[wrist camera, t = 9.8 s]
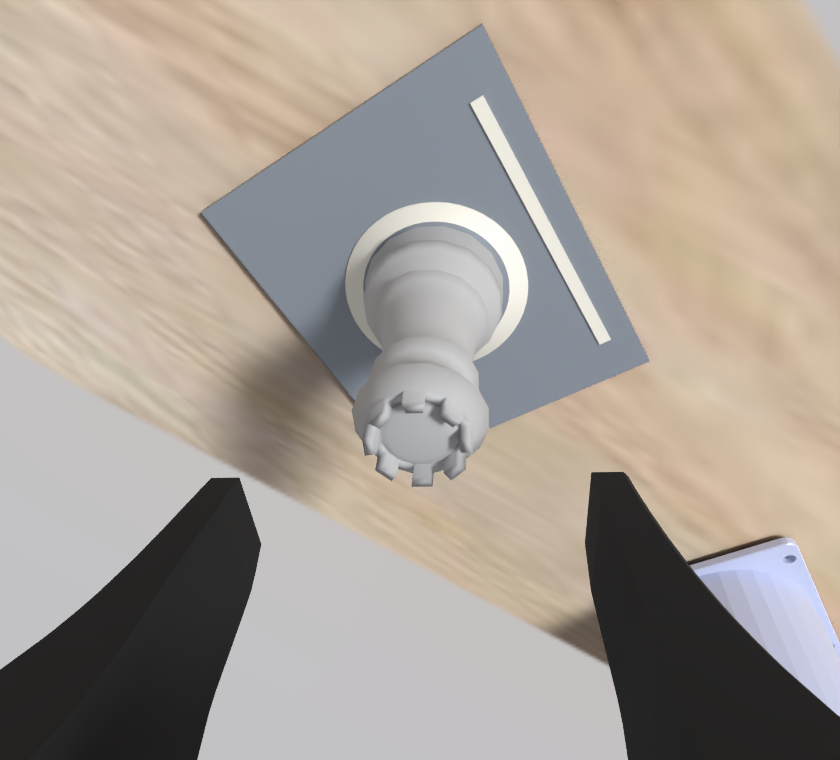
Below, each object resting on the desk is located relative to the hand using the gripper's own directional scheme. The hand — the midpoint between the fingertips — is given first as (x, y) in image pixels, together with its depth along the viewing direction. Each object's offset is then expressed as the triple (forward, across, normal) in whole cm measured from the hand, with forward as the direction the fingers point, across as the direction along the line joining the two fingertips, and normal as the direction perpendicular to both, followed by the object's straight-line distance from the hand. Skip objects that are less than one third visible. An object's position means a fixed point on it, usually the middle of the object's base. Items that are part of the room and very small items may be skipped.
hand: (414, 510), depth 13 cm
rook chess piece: (+10, 0, 0) cm, 10 cm away
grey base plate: (+10, 0, 0) cm, 10 cm away
